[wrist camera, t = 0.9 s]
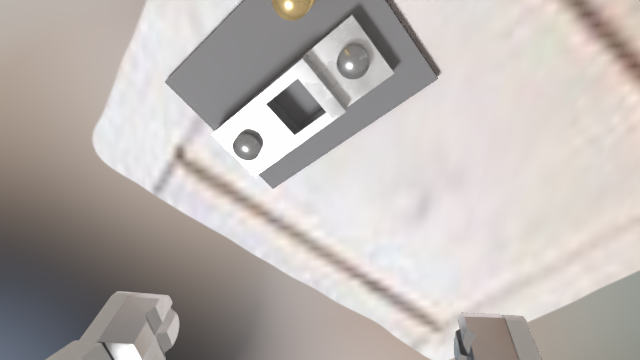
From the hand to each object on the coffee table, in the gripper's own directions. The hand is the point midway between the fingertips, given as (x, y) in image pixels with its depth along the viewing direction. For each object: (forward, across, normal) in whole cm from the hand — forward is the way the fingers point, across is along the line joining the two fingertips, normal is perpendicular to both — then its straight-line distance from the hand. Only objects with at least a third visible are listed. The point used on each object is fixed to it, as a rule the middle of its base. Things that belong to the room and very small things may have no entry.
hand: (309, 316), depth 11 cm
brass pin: (+33, +4, -5) cm, 33 cm away
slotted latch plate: (+33, +6, +6) cm, 34 cm away
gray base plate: (+33, +6, +4) cm, 34 cm away
